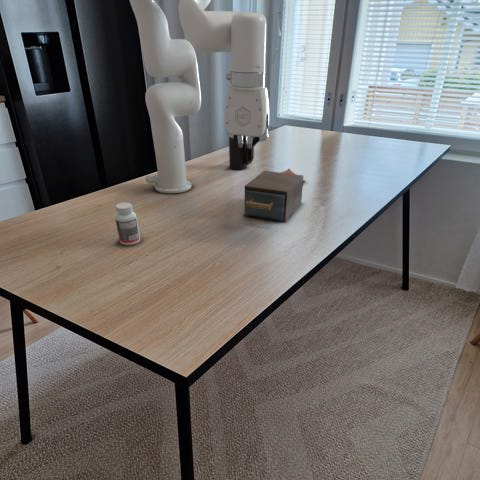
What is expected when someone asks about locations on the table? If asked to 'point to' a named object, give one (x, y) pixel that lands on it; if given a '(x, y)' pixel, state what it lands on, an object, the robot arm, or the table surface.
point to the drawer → (264, 204)
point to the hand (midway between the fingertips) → (246, 163)
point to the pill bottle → (127, 224)
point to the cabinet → (279, 189)
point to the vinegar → (235, 155)
